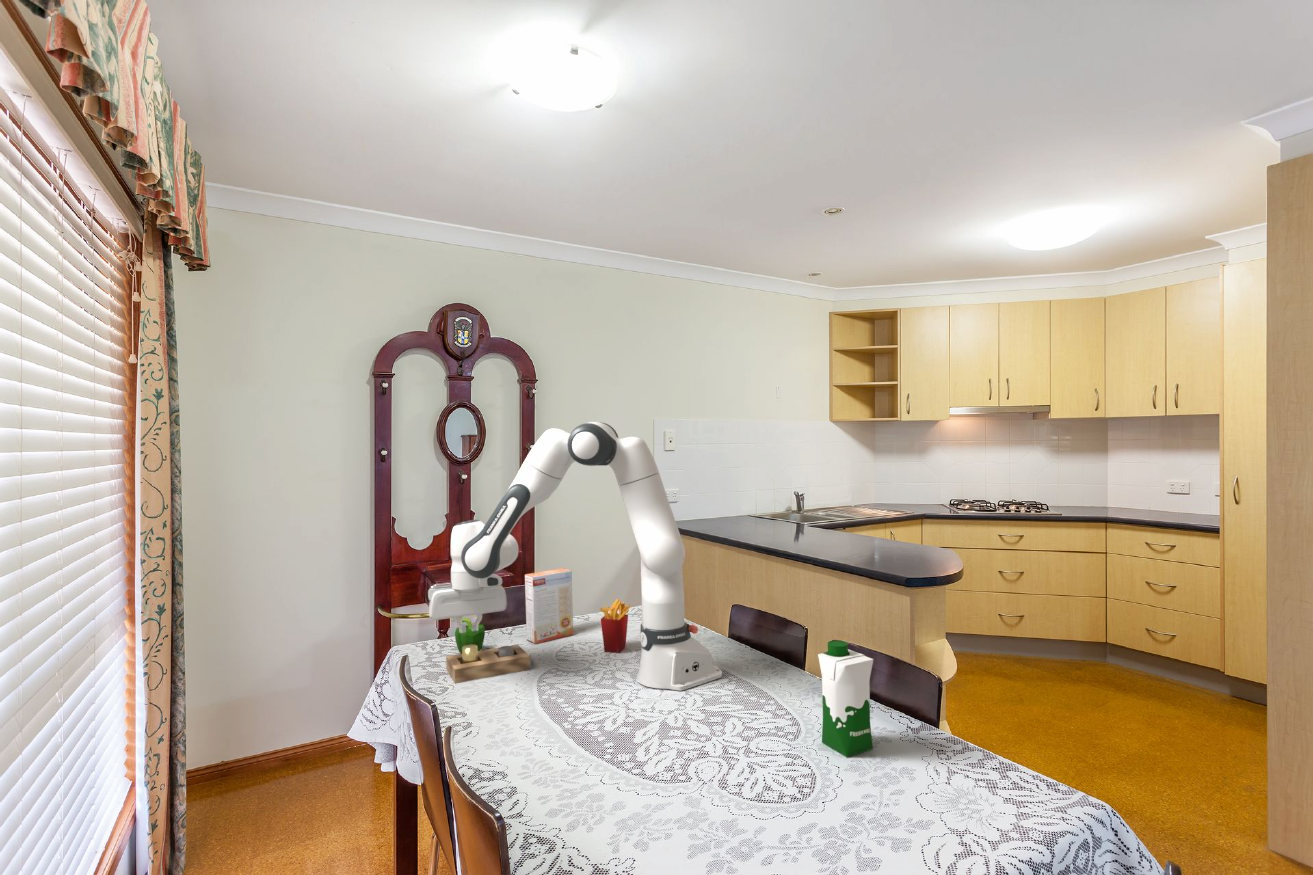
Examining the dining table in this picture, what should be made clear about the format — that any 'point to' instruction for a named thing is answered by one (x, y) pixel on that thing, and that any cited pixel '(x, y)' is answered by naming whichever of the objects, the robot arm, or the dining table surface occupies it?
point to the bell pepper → (470, 636)
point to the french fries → (615, 627)
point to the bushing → (469, 654)
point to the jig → (488, 663)
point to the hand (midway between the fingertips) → (468, 631)
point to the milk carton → (846, 699)
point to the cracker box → (548, 605)
